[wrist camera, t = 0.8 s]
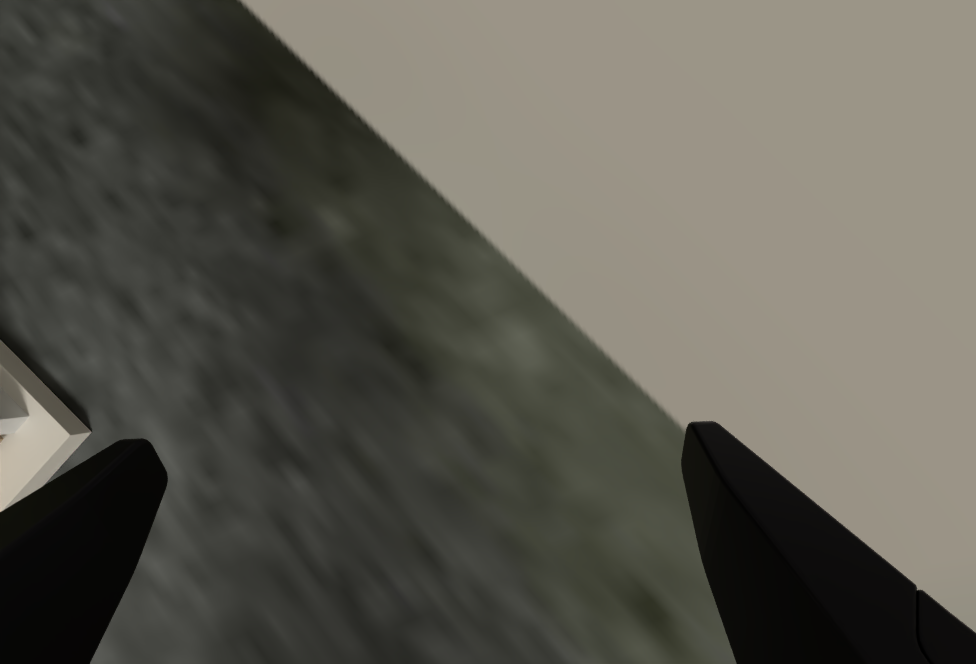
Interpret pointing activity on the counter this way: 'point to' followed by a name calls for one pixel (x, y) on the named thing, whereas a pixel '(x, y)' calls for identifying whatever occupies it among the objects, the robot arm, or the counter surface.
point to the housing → (31, 430)
